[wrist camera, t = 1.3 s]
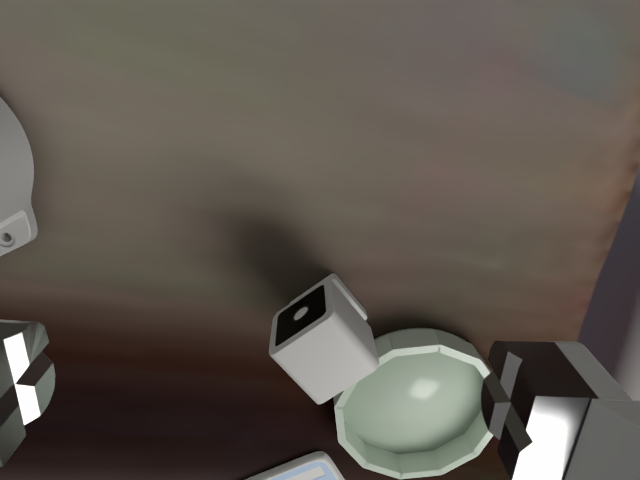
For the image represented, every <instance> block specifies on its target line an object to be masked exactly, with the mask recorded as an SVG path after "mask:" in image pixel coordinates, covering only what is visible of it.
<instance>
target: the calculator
mask: <svg viewBox="0 0 640 480" xmlns="http://www.w3.org/2000/svg"><path fill="white" fill-rule="evenodd" d="M245 480H345V479H344V478H343V476H342V475H341V473H340V472H339V470H338V469H337V467H336V466H335V464H334V463H333V461H332V460H331V458H330V457H329V456H328V455H327V454H326V453H325V452H323V451H317V452H313V453H310V454H308V455H305V456H302V457H300V458H297V459H295V460H292V461H290V462H287V463H285V464H282V465H280V466H277V467H275V468H272V469H270V470H267V471H265V472H262V473H260V474H257V475H255V476H252V477H250V478H247V479H245Z"/></svg>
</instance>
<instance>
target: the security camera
mask: <svg viewBox="0 0 640 480" xmlns="http://www.w3.org/2000/svg"><path fill="white" fill-rule="evenodd" d="M365 320H367V314H366V310H365V309H364V308H363V307H362V305H361V304H360V303H359V302H358V301H357V299H356V298H355V297H354V296H353V295H352V293H351V292H350V291H349V290H348V289H347V287H346V286H345V285H344V284H343V283H342V281H341V280H340V279H339V278H338V276H337V275H336V274H334V273H332V274H330V275H329V276H327V277H326V278H324V279H323V280H322V281H320V282H319V283H317V284H316V285H314V286H313V287H311V288H310V289H308V290H307V291H305V292H304V293H303V294H301V295H300V296H298V297H297V298H295V299H294V300H292V301H291V302H290V303H289V305H287V306H286V307H284V308H283V309H282V310H280V311H279V312H278V313H277V314H276V315H275V316H274V317H273V321H272V329H271V338H270V347H269V355H270V356H271V357H272V358H273V359H274V360H275V361H276V362H277V363H278V364H279V365H280V366H281V367H282V368H283V369H284V370H285V371H286V372H287V373H288V374H289V375H290V377H291V378H292V379H293V380H294V381H295V382H296V383H297V384H298V385H299V386H300V387H301V388H302V389H303V390H304V391H305V392H306V393H307V394H308V395H309V396H310V397H311V398H312V399H313V400H314V401H315V402H316V403H317V404H322V403H324V402H326V401H327V400H329V399H331V398H332V397H334V396H335V395H337V394H339V393H340V392H342V391H344V390H345V389H347V388H348V387H350V386H352V385H353V384H355V383H356V382H358V381H360V380H361V379H363V378H364V377H366V376H368V375H369V374H371V373H373V372H374V371H375V370H376V369H377V367H378V365H379V359H378V355H377V351H376V346H375V342H374V338H373V334H372V330H371V327H370V326H369V325H368V323H367V322H366V321H365Z"/></svg>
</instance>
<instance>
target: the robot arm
mask: <svg viewBox="0 0 640 480" xmlns="http://www.w3.org/2000/svg"><path fill="white" fill-rule="evenodd" d="M33 181H34V163H33V156H32V152H31V148H30V145H29V142H28V139H27V136H26V134H25V132H24V130H23V128H22V126H21V124H20V122H19V121H18V119H17V117H16V116H15V114H14V113H13V112H12V110H11V109H10V108H9V106H8V105H7V104H6V103H5V102H4V100H3V99H2V98H1V97H0V256H2V255H4V254H6V253H8V252H10V251H12V250H14V249H16V248H18V247H20V246H22V245H24V244H27V243H29V242H31V241H32V240H34V239H35V237H36V236H37V223H36V219H35V216H34V212H33V209H32V206H31V193H32V187H33ZM6 233H8V234H10V235H11V237H12V239H10V238H8V237H7V235H6ZM48 343H49V341H48V337H47V333H46V329H45V327H44V326H43V325H42V324H40V323H39V322H30V321H13V320H0V466H3V465H4V464H5V463H6V461H7V460H8V459H9V457H10V456H11V455H12V453H13V452H14V451H15V449H16V448H17V447H18V445H19V444H20V443H21V441H22V440H23V439H24V437H25V436H26V432H25V427H24V425H25V424H27V423H29V422H30V421H32V420H34V419H36V418H37V417H39V416H41V414H42V413H43V411H44V410H45V409H46V407H47V406H48V404H49V402H50V399H51V396H52V393H53V390H54V388H55V371H54V366H53V363H52V362H51V361H50V360H49V359H48V358H47V357H46V356H45V355H44V354H43V353H42V352H43V351H44V349H45V348H46V346H47V345H48ZM488 360H489V362H490V364H491V366H492V368H493V371H492V372H491V373H490V374H489V375H488V376H487V377H485V378H484V380H483V385H482V391H481V410H482V414H483V418H484V421H485V424H486V426H487V429H488V431H489V432H490V433H491V434H493V435H494V436H495V437H497V438H498V439H499V440H500V442H499V446H498V450H497V452H498V454H499V456H500V458H501V460H502V463H503V465H504V467H505V469H506V472H507V474H508V476H509V478H510V480H640V401H633V400H632V399H631V398H630V397H629V396H628V395H627V393H626V392H625V391H624V390H623V389H622V388H621V387H620V386H619V384H618V383H617V382H616V381H615V380H614V379H613V378H612V376H611V375H610V374H609V373H608V372H607V371H606V370H605V369H604V367H603V366H602V365H601V364H600V363H599V362H598V361H597V360H596V359H595V357H594V356H593V355H592V354H591V353H590V352H589V351H588V349H587V348H586V347H585V346H584V345H582V344H580V343H578V342H565V341H549V342H532V341H494V343H493V345H492V347H491V349H490V353H489V357H488Z"/></svg>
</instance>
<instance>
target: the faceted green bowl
mask: <svg viewBox="0 0 640 480" xmlns="http://www.w3.org/2000/svg"><path fill="white" fill-rule="evenodd" d="M374 342H375V346H376V351H377V355H378V359H379V365H378V367H377V369H376V370H375V371H374V372H373V373H371V374H369V375H368V376H366V377H364V378H363V379H361V380H360V381H358V382H356V383H355V384H353V385H352V386H350V387H348V388H347V389H345V390H344V391H342V392H340V393H339V394H337V395H335V396H334V397H333V398H334V410H335V418H336V427H337V435H338V442H339V443H340V444H341V445H342V446H343V447H344V448H345V449H346V451H347V452H348V453H349V454H350V455H351V456H352V457H353V458H354V459H355V460H356V461H357V462H358V463H359V464H360V465H361V466H362V467H363V468H365V469H369V470H372V471H375V472H378V473H381V474H385V475H388V476H391V477H394V478H397V479H408V478H418V477H427V476H437V475H441V474H442V475H443V474H445V473H446V472H448V471H450V470H452V469H454V468H456V467H458V466H460V465H462V464H463V463H465V462H467V461H469V460H471V459H473V458H475V457H477V456H478V455H479V454H480V453H481V451H482V450H483V449H484V447H485V446H486V444H487V443H488V442H489V440H490V439H491V438H492V436H493V434H491V433H490V432H489V431H488V429H487V426H486V424H485V421H484V418H483V414H482V410H481V391H482V385H483V380H484V378H485V377H487V376H488V375H489V374H490V373H491V372H492V371H491V370H490V368H489V367H488V365H487V364H486V363H485V361H484V360H483V358H482V357H481V355H480V354H479V353H478V351H477V350H476V349H475V347H474V346H473V345H472V344H471V343H468V342H466V341H465V340H463V339H462V338H460V337H458V336H456V335H454V334H452V333H449V332H445V331H442V330H437V329H432V328H408V329H402V330H397V331H394V332H390V333H387V334H384V335H382V336H379V337H377V338H375V339H374Z"/></svg>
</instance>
